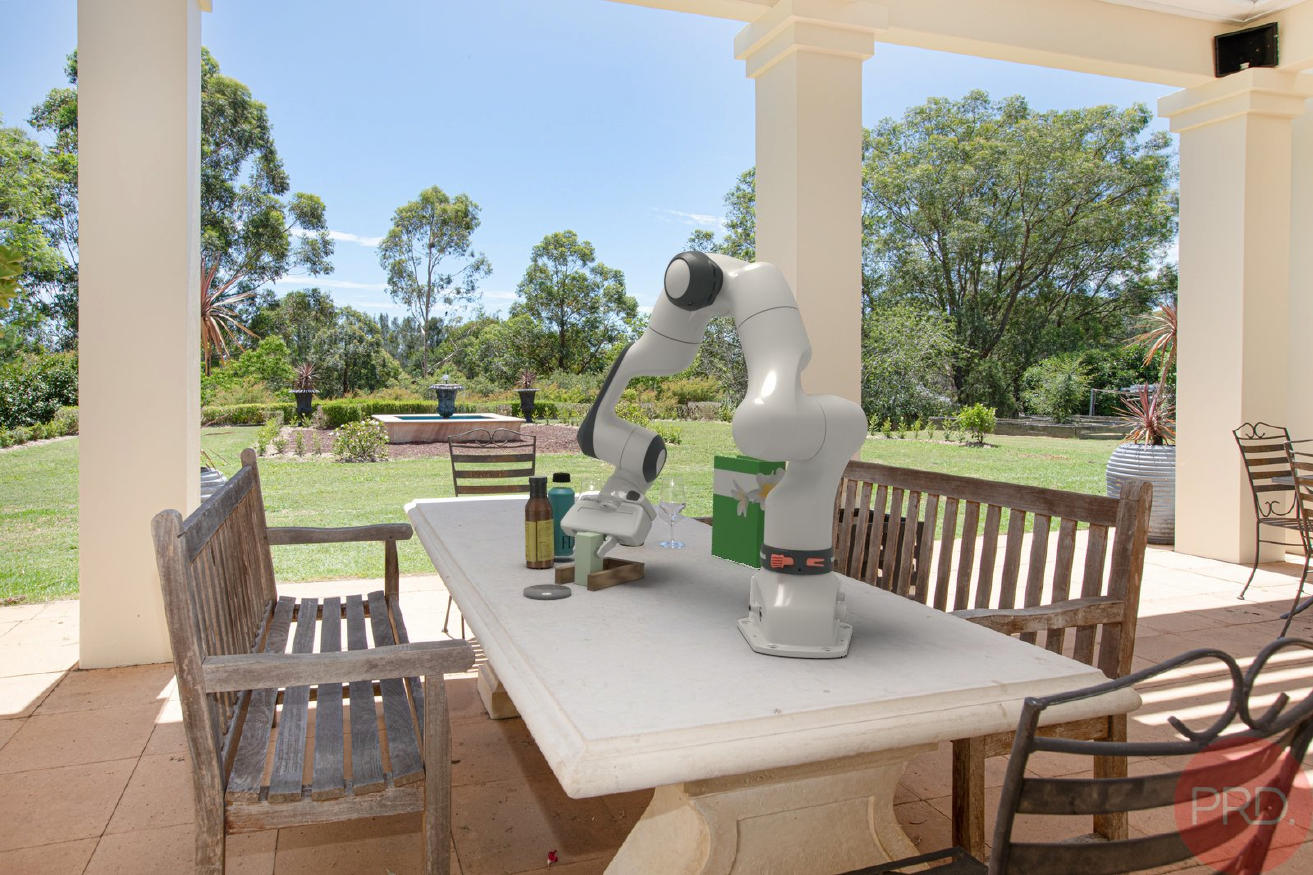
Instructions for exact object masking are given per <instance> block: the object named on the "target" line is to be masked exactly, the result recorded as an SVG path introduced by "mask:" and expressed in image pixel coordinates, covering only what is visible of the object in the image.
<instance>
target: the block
mask: <svg viewBox="0 0 1313 875" xmlns="http://www.w3.org/2000/svg"><path fill="white" fill-rule="evenodd" d="M603 537H604V534H599V533H593V532H584V533H579V534H575V553H574V564H575V581H573V582H574V584H575V585H580V586H584V587H585V586H586V587H587V575H588V574H592V573H596V572H600V571H603V559H601V558H596V557H595V555H594V551H595V549H596V547H597V546H599V547H600V546H601V545H602V544H604V541H603Z"/></svg>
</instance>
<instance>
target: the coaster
mask: <svg viewBox="0 0 1313 875" xmlns="http://www.w3.org/2000/svg"><path fill="white" fill-rule="evenodd" d="M522 591H523V592H522V594H523V596H524V597H525V598H527V599H531V600H539V601H540V600H541V601H547V600H548V601H551V600H561V599H565V598H569V597H571V595H572V588H570V587H568V586H565V585H563V584H552V583H551V584H550V583H549V584H544V583H543V584H534V585H530V586H526V587H524V588H523V590H522Z"/></svg>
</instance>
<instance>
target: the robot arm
mask: <svg viewBox="0 0 1313 875" xmlns="http://www.w3.org/2000/svg"><path fill="white" fill-rule="evenodd" d="M713 317H717V318H718V317H719V318H728V319H729V318H732V319H733V320H734V325H735V327H736V328H735V329H736V331H737V334H738V338H739V341H740V345H741V349H742V354H743V357H744V360H745V365H746V369H747V381H748V382H747V389H746V394H745V396H744V398H743V400H742V401H741V402H740V403H739V405H738V406H737V408H736V409H735V410H734V411H735V412H734V414H733V416H732V420H731V434H732V438H733V441H734V443H735V444H734V445H736V447H737V449H738V450H739V452H740V453H741V454H743V456H748V457H752V458H756V459H760V460H764V461H769V462H783V461H786V462H788V463H787V465H786V472H785V474H784V476H783V478H782V479H781V481H780V482H779V483H778V484H777V485H776V486H775V487H774V488H773V489H772V490H771V491H770V492H769V493H768V495H767V497H766V500H765V521H764V542H763V543H762V544H761V550H760V556H761V558H760V564H761V566H762V567H761V568H760V570H757V572H756V573H754V574H753V575H752V576H751V578H750V594H749V605H748V611H749V613H748V614H749V615H748V617H742V618H739V619H737V625H736V626H737V628H738V630H740V632H741V633H742V635H743V637H744V638H745V639H746V641H747V643H748V645H749V646H750V647H751V649H752V650H753V651H754V652H757V653H761V654H767V655H773V656H780V657H791V658H804V659H805V658H806V659H807V658H810V659H811V658H812V659H827V658H828V659H830V658H831V659H833V658H841V656H842V657H846V656H847V655H848V651H849V647H850V645H849V644H850V643H851V640H852V637H853V634H852V633H854V631H853V630H854V628H853V625H852V624H850V623H845V622H841V620H842V621H845V620H848V605H846V604H841V602H844V601H845V596H846V595H845V592H843V591H842V580H841V579H840V578H839V577H838V576H836V575H835V573H834V569H835V559H836V558H835V557H836V556H835V547H834V546H833V545H832V544H833V542H832V540H833V525H834V524H833V522H834V510H835V509H834V508H835V500H836V496H837V492H838V487H839V485H840V482H841V479H842V477H843V474H844V472H845V469H846V468H847V465H848V463H849V462H850V460H851V459H852V457H853V456H854V455H855V454H856V453H857V452H858V451H859V450H860V449H861V448H862V447H863V445H865V444H864V443H865V441H866V439H867V437H868V430H869V426H868V424H869V423H868V419H867V416H866V413H865V411H864V409H863V408H862V407H861V406H860V405H859V404H858V403H856V402H855V401H853V400H851V399H848V398H845V397H841V396H838V395H836V394H835V395H834V394H822V393H821V394H818V393H816V394H811V393H808V394H807V393H806V392H805V391H804V389H803V386H802V381H801V380H802V379H801V377H802V376H801V373H802V372H804V370H806V368H807V366H809V364H810V362H811V360H812V355H813V348H812V346H811V345H812V344H811V343H810V340H809V337H808V334H807V331H806V328H805V323H804V321H803V318H802V314H801V312H800V309H799V306H798V303H797V301H796V298H795V295H794V293H793V292H792V289H791V287H790V286H789V284H788V281H787V280H786V278H785V276H784V274H783V273H782V271H781V270H780V269H779V267H778V266H776V265H775V264H774V263H771V262H768V261H755V262H754V261H746V260H743V259H740V258H737V257H733V256H730V255H727V254H721V253H714V252H703V251H700V250H688V251H683V252H682V251H681V252H679V253H677V254H676V255H675V256H673V257H672V258H671V260H670V261H669V263H668V265H667V267H666V269H665V273H664V277H663V288H662V290H661V291H660V293H659V295H658V297H657V300H656V301H655V304H654V306H653V309H652V311H651V314H650V317H649V320H648V322H647V326H646V328H645V331H644V332H643V334H642V336H640V338H639V339H638V340H637V341H632V342H628V343H627V344H625V346H624V347H623V349H621V351H620V353H619V354H618V355H617V357H616V359H615V361H614V362H613V364H612V366H611V368H610V370H609V372H608V374H607V376H606V377H605V379H604V381H603V383H602V385H601V388H600V389H599V392H598V394H597V395H596V397H595V399H594V400H593V401H594V402H593V403H592V405H591V407H590V409H589V410H588V412H587V414H586V416H585V417H584V418H583V420H582V422H581V423H580V425H579V427H578V429H577V433H576V442H577V444H578V447H579V449H580V451H581V453H582V454H583V455H585V456H587V457H590V458H593V459H596V460H600V461H603V462H605V463H607V464H610V465H612V466H614V467H615V468H614V470H613V473H612V474H611V475H610V476H609V477H607V479H606V481H605V483H604V484H603V486H602V488H601V489H600V491H599V492H598V494H597V495H596V498H591V497H584V498H583V499H580V500H577V502H576V501H575V504H574V505H573V506H572V507H571V508H570V510H569V511H568V512H567V513H566V515H565V516H564V517H563V519H562V520H561V523H560V524H561V528H562V529H563V531H564V532H565V533H566V534H567V535H568V536H574V537H575V534H579V533H584V532H593V533H599V534H604V537H603V544H602V545H601V546H600V547H599V546H597V547H596V549H595V551H594V555H595V557H596V558H601V559H603V558H604V557H606V556H605V555H606V554H607V553H608V552H610V551H612V549H614V548H615V547H616V545H618V544H620V545H624V546H625V545H627V546H632V547H639V546H641V545H643V543H644V542H646V539H647V538H648V535H649V534H650V532H651V529H652V527H653V521H654V520H656V518H657V515H658V514H657V512H656V510H655V508H654V506H653V505H652V504H651V502H650V500H649V498H648V497H647V496H646V493H647V491H648V490H650V489H651V487H652V486H654V485H653V484H654V483H655V481H656V479H657V478H658V477H659V476H660V475H661V474H660V473H661V472H662V471H663V468H664V466H665V464H666V462H667V457H668V450H667V446H666V444H665V441H664V439H663V437H662V435H661V434H659V433H657V432H655V431H653V430H652V429H649V428H646V427H644V426H642V425H638V424H636V423H634V422H631V421H629V420H627V419H624V418H622V417H620V416H618V415H617V413H616V412H615V409H616V408H617V405H618V403H619V401H620V399H621V398H622V395H623V393H624V391H625V390H626V388H627V386H628V384H629V382H630V381H631V380H632V379H633V378H636V377H670V376H674V375H677V374H680V373H682V372H684V371H686V370H688V369H689V368H690V367H691V366H692V365H693V363H694V361H695V359H696V358H697V355H698V354H699V351H700V347H701V345H702V342H703V339H704V336H705V333H706V329H707V326H708V324H709V321H710V320H711V319H712V318H713ZM573 552H574V554H575V546H574V548H573ZM851 636H852V637H851ZM845 655H846V656H845Z"/></svg>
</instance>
